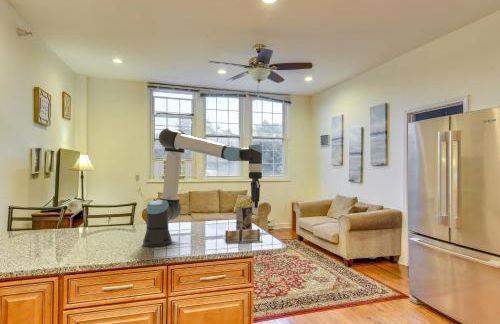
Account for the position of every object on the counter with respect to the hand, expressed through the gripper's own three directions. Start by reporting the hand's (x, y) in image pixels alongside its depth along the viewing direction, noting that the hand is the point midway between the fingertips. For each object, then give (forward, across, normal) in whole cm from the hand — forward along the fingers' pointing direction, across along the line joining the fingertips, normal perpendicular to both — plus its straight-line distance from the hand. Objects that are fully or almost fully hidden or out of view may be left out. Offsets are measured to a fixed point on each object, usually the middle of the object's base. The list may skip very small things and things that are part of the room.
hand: (255, 213), depth 178 cm
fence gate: (+16, +5, +1) cm, 16 cm away
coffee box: (+17, +28, 0) cm, 33 cm away
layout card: (+16, +10, +6) cm, 20 cm away
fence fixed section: (+16, +4, +11) cm, 20 cm away
